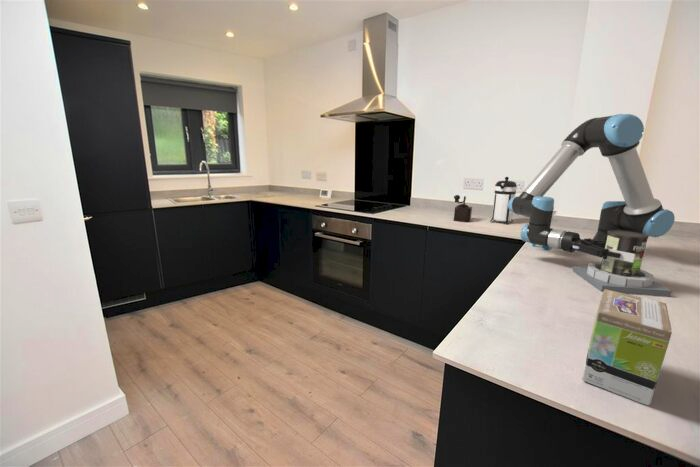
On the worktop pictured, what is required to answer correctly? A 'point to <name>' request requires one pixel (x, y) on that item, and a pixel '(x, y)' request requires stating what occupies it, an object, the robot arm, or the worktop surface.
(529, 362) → the worktop surface
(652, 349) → the tea box
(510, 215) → the coffee press
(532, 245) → the gear
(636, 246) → the coffee can
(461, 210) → the manual coffee grinder
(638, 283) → the housing
